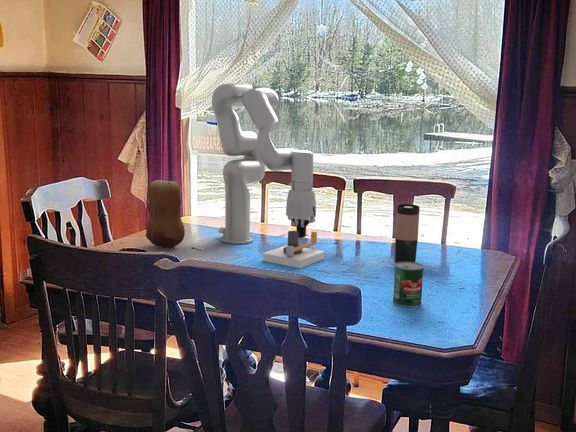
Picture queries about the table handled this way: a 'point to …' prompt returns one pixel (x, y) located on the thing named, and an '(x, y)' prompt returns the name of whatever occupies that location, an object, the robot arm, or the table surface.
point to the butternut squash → (164, 214)
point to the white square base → (294, 257)
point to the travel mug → (406, 233)
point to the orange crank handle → (292, 249)
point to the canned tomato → (408, 284)
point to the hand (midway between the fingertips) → (301, 237)
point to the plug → (293, 241)
